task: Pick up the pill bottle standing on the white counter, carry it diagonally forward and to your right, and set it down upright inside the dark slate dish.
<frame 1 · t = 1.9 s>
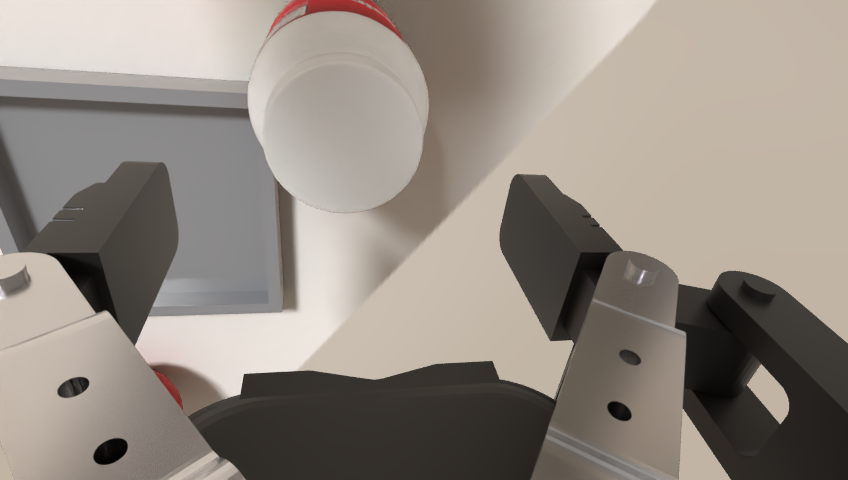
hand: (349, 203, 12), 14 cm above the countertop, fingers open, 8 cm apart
slate dish: (150, 199, 25), on the countertop
pill bottle: (335, 54, 23), on the countertop
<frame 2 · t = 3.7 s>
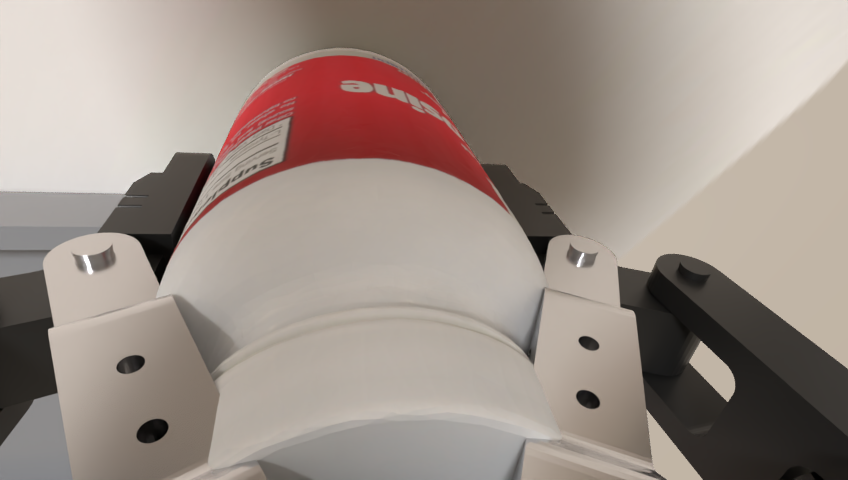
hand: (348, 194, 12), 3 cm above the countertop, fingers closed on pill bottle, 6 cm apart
slate dish: (56, 362, 16), on the countertop
pill bottle: (345, 150, 14), on the countertop, touching gripper
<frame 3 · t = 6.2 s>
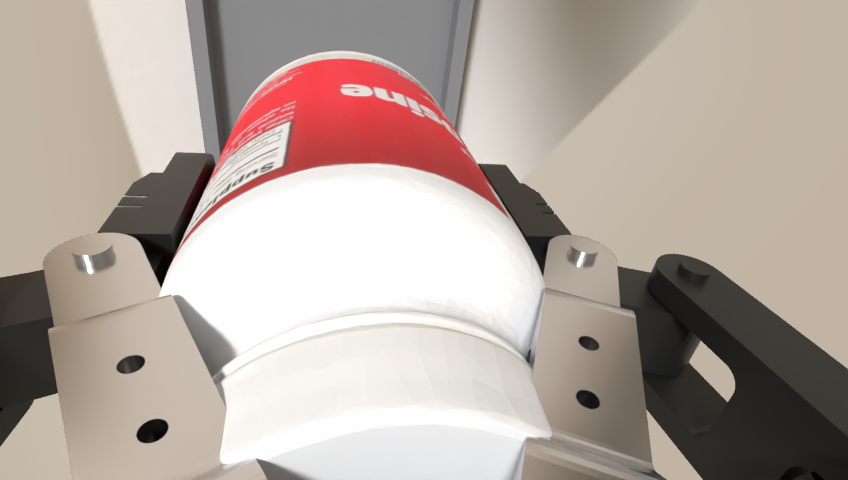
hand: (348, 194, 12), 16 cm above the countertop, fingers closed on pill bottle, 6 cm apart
slate dish: (334, 54, 25), on the countertop
pill bottle: (345, 152, 14), point 13 cm above the countertop, touching gripper
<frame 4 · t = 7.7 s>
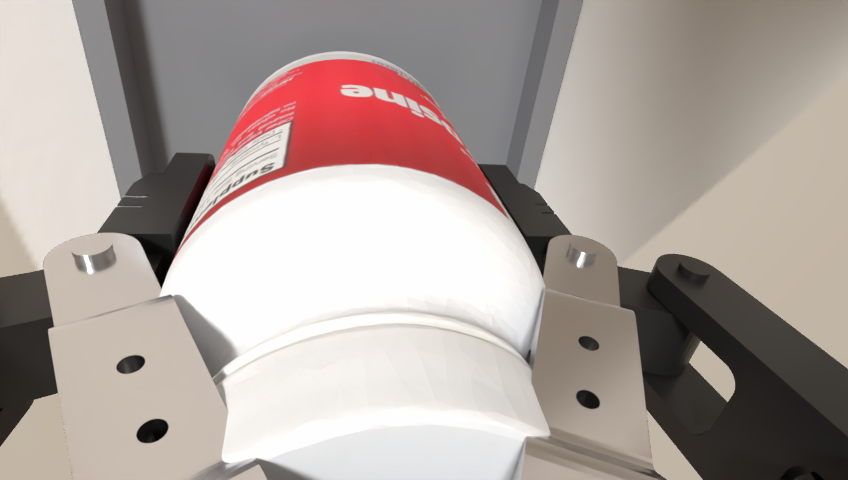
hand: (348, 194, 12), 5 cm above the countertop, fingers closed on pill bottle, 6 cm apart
slate dish: (342, 122, 16), on the countertop
pill bottle: (345, 152, 14), point 2 cm above the countertop, touching gripper
when the fingers open (4 cm above the countertop, at t = 8.8 s): pill bottle drops 1 cm, resting on slate dish.
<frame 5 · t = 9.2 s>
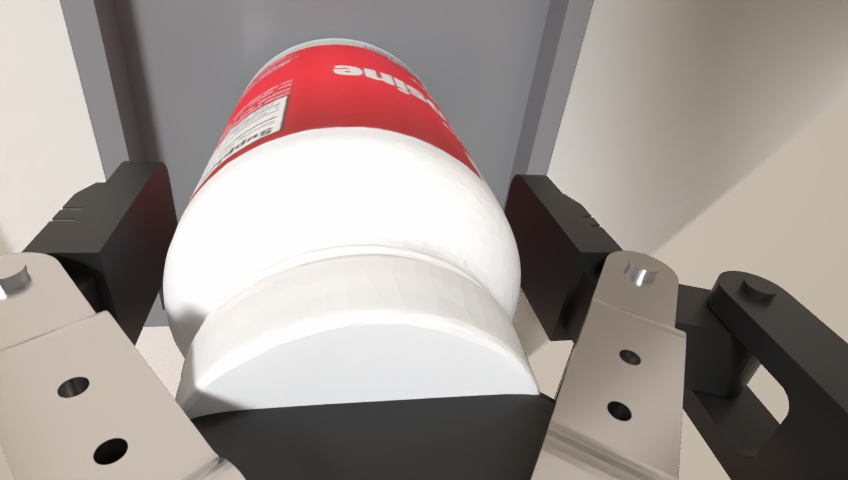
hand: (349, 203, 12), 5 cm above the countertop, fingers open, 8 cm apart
slate dish: (342, 131, 16), on the countertop
pill bottle: (340, 135, 15), resting on slate dish
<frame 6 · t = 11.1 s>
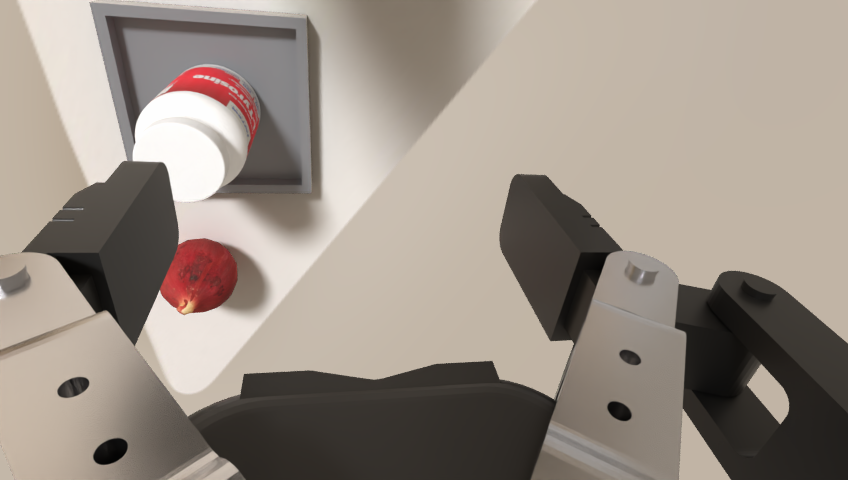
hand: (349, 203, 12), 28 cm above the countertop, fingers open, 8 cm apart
slate dish: (219, 103, 36), on the countertop
onion: (208, 249, 42), on the countertop
pill bottle: (217, 104, 36), resting on slate dish
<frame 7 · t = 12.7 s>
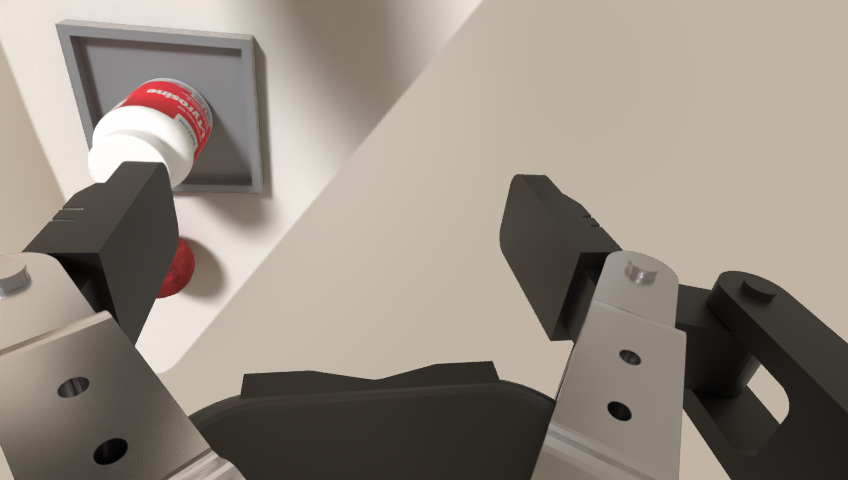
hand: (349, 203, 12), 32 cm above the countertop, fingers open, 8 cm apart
slate dish: (176, 111, 40), on the countertop
onion: (170, 241, 47), on the countertop
pill bottle: (174, 113, 40), resting on slate dish
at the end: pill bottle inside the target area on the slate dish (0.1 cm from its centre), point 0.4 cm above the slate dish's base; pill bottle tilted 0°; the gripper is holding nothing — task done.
